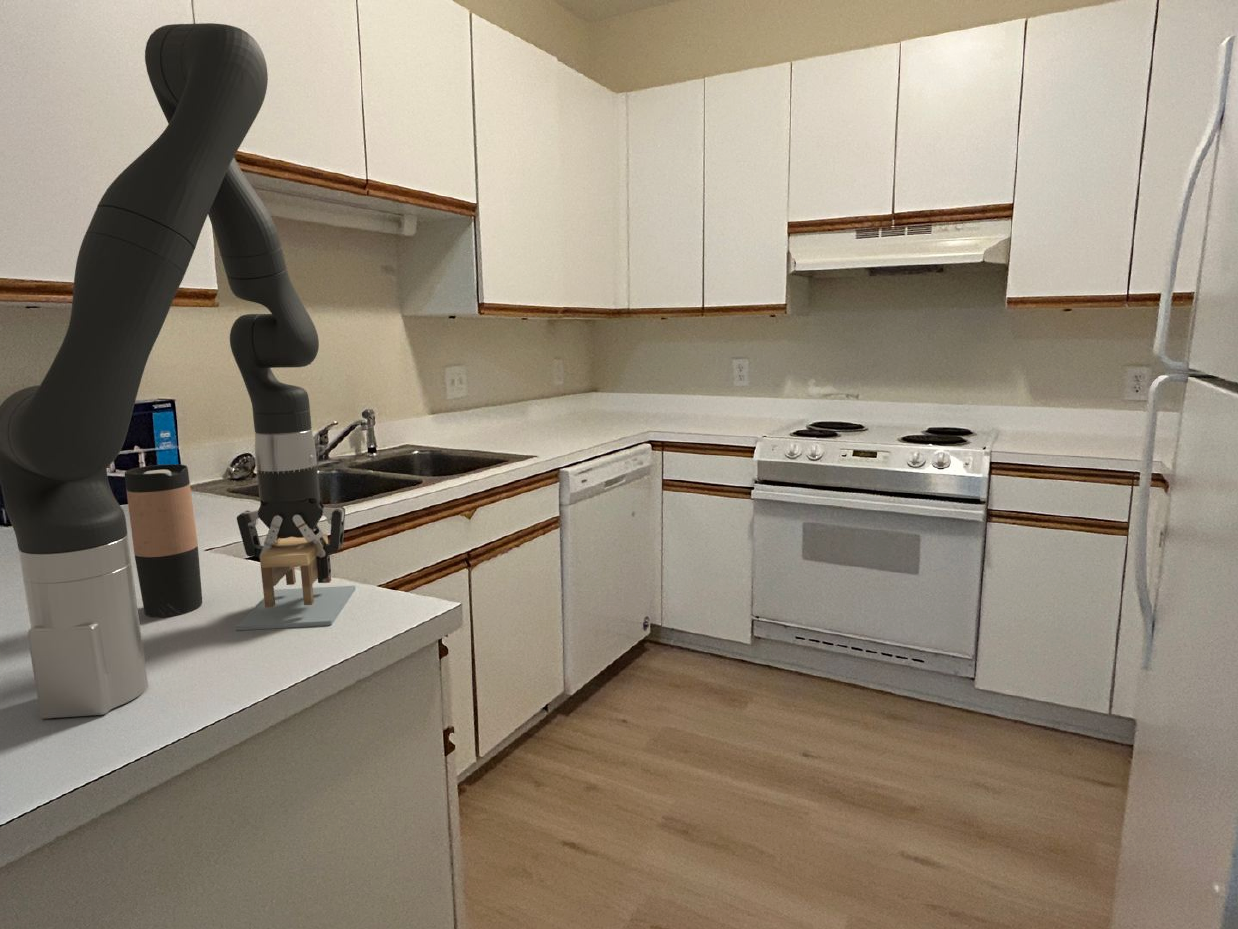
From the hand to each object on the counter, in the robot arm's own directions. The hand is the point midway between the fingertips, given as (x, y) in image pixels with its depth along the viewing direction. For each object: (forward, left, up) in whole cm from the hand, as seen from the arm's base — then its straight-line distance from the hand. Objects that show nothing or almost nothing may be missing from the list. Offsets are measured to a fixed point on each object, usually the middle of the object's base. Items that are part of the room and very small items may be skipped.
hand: (298, 582), depth 106 cm
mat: (0, 0, -4) cm, 4 cm away
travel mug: (+3, +18, -4) cm, 19 cm away
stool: (0, 0, -2) cm, 2 cm away
